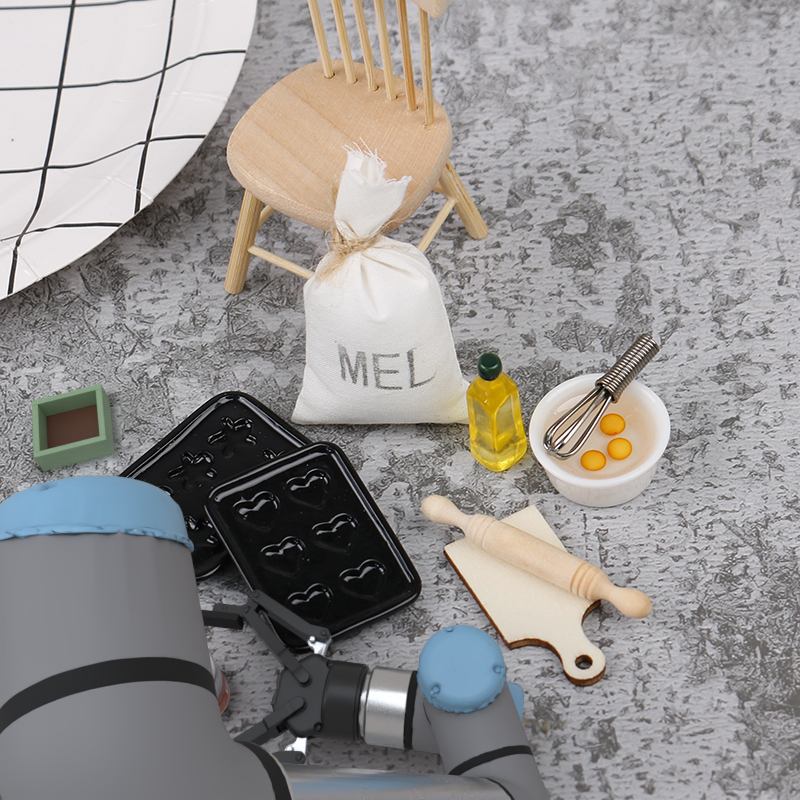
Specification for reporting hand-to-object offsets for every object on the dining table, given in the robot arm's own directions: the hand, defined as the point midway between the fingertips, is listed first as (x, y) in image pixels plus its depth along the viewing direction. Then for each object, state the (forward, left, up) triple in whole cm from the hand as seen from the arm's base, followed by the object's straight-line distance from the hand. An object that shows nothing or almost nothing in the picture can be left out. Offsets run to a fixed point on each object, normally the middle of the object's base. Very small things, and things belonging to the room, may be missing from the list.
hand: (162, 677), depth 97 cm
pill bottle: (+2, -2, -7) cm, 7 cm away
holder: (+10, +38, -6) cm, 40 cm away
